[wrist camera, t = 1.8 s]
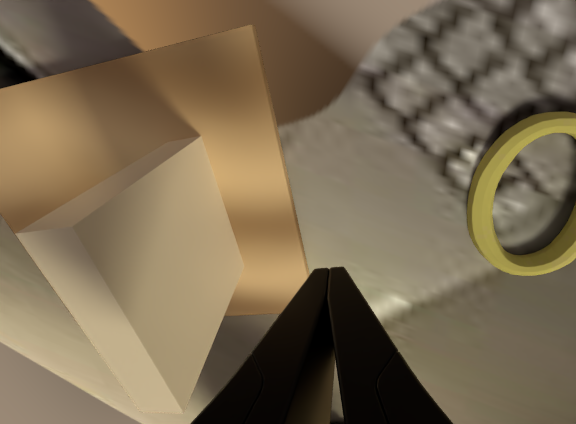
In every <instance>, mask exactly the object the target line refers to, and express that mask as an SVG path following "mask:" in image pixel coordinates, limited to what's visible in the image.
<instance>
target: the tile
mask: <svg viewBox="0 0 576 424" xmlns="http://www.w3.org/2000/svg"><path fill="white" fill-rule="evenodd" d="M15 235H16V236H17V237H18V239H19V240H20V242H21V243H22V244H23V246H24V247H25V249H26V250H27V252H28V253H29V254H30V256H31V257H32V259H33V260H34V262H35V263H36V264H37V266H38V267H39V269H40V270H41V272H42V273H43V274H44V276H45V277H46V279H47V280H48V282H49V283H50V284H51V286H52V287H53V289H54V290H55V291H56V293H57V294H58V296H59V297H60V299H61V300H62V301H63V303H64V304H65V306H66V307H67V309H68V310H69V311H70V313H71V314H72V316H73V317H74V319H75V320H76V321H77V323H78V324H79V326H80V327H81V329H82V330H83V331H84V333H85V334H86V336H87V337H88V338H89V340H90V341H91V343H92V344H93V346H94V347H95V348H96V350H97V351H98V353H99V354H100V356H101V357H102V358H103V360H104V361H105V363H106V364H107V366H108V367H109V368H110V370H111V371H112V373H113V374H114V376H115V377H116V378H117V380H118V381H119V383H120V384H121V385H122V387H123V388H124V390H125V391H126V393H127V394H128V395H129V397H130V398H131V400H132V401H133V403H134V404H135V405H136V407H137V408H138V410H139V411H140V412H147V413H184V412H185V410H186V407H187V405H188V402H189V400H190V398H191V395H192V393H193V390H194V388H195V385H196V383H197V380H198V378H199V376H200V373H201V371H202V368H203V366H204V363H205V361H206V359H207V356H208V354H209V351H210V349H211V346H212V344H213V341H214V339H215V337H216V334H217V332H218V329H219V327H220V324H221V322H222V320H223V317H224V315H225V312H226V310H227V307H228V305H229V302H230V300H231V298H232V295H233V293H234V290H235V288H236V285H237V283H238V281H239V278H240V276H241V273H242V271H243V268H244V263H243V260H242V257H241V254H240V251H239V248H238V245H237V242H236V239H235V236H234V233H233V230H232V227H231V224H230V221H229V218H228V215H227V212H226V209H225V206H224V203H223V200H222V197H221V194H220V191H219V188H218V185H217V182H216V179H215V176H214V173H213V170H212V167H211V164H210V161H209V158H208V155H207V152H206V149H205V146H204V143H203V140H202V137H201V136H198V137H193V138H187V139H182V140H176V141H171V142H167V143H166V144H164V145H162V146H161V147H159V148H157V149H156V150H154V151H152V152H151V153H149V154H147V155H145V156H144V157H142V158H140V159H139V160H137V161H135V162H134V163H132V164H130V165H129V166H127V167H125V168H124V169H122V170H120V171H119V172H117V173H115V174H114V175H112V176H110V177H109V178H107V179H105V180H104V181H102V182H100V183H99V184H97V185H95V186H94V187H92V188H90V189H89V190H87V191H85V192H84V193H82V194H80V195H79V196H77V197H75V198H74V199H72V200H70V201H69V202H67V203H65V204H64V205H62V206H60V207H59V208H57V209H55V210H54V211H52V212H50V213H49V214H47V215H45V216H44V217H42V218H40V219H39V220H37V221H35V222H34V223H32V224H30V225H29V226H27V227H25V228H24V229H22V230H20V231H19V232H17V233H15Z"/></svg>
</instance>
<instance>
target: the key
mask: <svg viewBox="0 0 576 424" xmlns="http://www.w3.org/2000/svg"><path fill="white" fill-rule="evenodd" d="M551 133H567V134H569V135H571V136H573V137H574V138H575V139H576V113H571V112H546V113H541V114H536V115H532V116H530V117H528V118H526V119H524V120H521V121H519V122H518V123H516V124H515V125H513V126H512V127H511V128H509V129H508V130H506V131H505V132H504V133H503V134H502V135H501V136H500V137H499V138H498V139H497V140H496V141H495V142H494V143H493V145H492V146H491V147H490V148H489V150H488V151H487V152H486V154H485V155H484V157H483V158H482V160H481V162H480V163H479V165H478V167H477V169H476V171H475V174H474V176H473V179H472V183H471V187H470V191H469V196H468V203H467V223H468V230H469V234H470V237H471V239H472V241H473V243H474V245H475V247H476V248H477V249H478V251H479V252H480V254H481V255H483V256H484V257H485V258H486V259H487V260H488V261H489V262H490V263H491V264H492V265H494V266H495V267H497V268H499V269H500V270H502V271H504V272H507V273H510V274H513V275H523V276H528V275H540V274H545V273H549V272H552V271H555V270H557V269H560V268H562V267H563V266H565V265H567V264H569V263H571V262H572V261H573V260H574V259H575V258H576V203H575V206H574V209H573V211H572V213H571V215H570V217H569V220H568V222H567V223H566V225H565V226H564V228H563V229H562V231H561V232H560V233H559V234H558V236H557V237H556V238H555V239H554V240H553V241H552V242H551V243H550V244H549V245H548V246H546V247H545V248H543V249H542V250H539V251H537V252H535V253H531V254H527V255H513V254H510V253H508V252H506V251H505V250H504V249H503V248H502V246H501V245H500V243H499V240H498V238H497V236H496V233H495V231H494V226H493V217H492V209H493V200H494V195H495V190H496V188H497V185H498V182H499V180H500V178H501V176H502V174H503V173H504V171H505V170H506V168H507V167H508V165H509V164H510V162H511V161H512V160H513V159H514V157H515V156H516V155H517V154H518V153H519V152H520V151H521V150H522V149H523V148H524V147H525V146H526V145H527V144H529V143H530V142H532V141H533V140H535V139H537V138H539V137H541V136H544V135H547V134H551Z"/></svg>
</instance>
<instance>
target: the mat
mask: <svg viewBox="0 0 576 424" xmlns="http://www.w3.org/2000/svg"><path fill="white" fill-rule="evenodd" d="M198 136H201V137H202V140H203V143H204V146H205V149H206V152H207V155H208V158H209V161H210V164H211V167H212V170H213V173H214V176H215V179H216V182H217V185H218V188H219V191H220V194H221V197H222V200H223V203H224V206H225V209H226V212H227V215H228V218H229V221H230V224H231V227H232V230H233V233H234V236H235V239H236V242H237V245H238V248H239V251H240V254H241V257H242V260H243V263H244V268H243V271H242V273H241V276H240V278H239V281H238V283H237V285H236V288H235V290H234V293H233V295H232V298H231V300H230V302H229V305H228V307H227V310H226V312H225V315H224V316H236V315H258V314H279V313H282V311H283V310H284V309H285V307H286V306H287V305H288V303H289V302H290V301H291V299H292V298H293V297H294V295H295V294H296V293H297V291H298V290H299V289H300V287H301V286H302V285H303V283H304V282H305V281H306V280H307V278H308V277H309V276H310V275H309V270H308V266H307V261H306V256H305V252H304V247H303V243H302V238H301V233H300V229H299V224H298V220H297V215H296V211H295V206H294V201H293V197H292V192H291V188H290V183H289V178H288V174H287V169H286V165H285V160H284V156H283V151H282V146H281V142H280V137H279V133H278V128H277V123H276V119H275V114H274V110H273V105H272V101H271V96H270V92H269V88H268V82H267V78H266V73H265V68H264V64H263V59H262V55H261V50H260V45H259V41H258V36H257V32H256V27H255V25H252V24H251V25H247V26H243V27H239V28H235V29H231V30H227V31H224V32H220V33H216V34H212V35H208V36H204V37H201V38H196V39H192V40H189V41H185V42H181V43H177V44H174V45H169V46H165V47H162V48H158V49H154V50H150V51H146V52H142V53H138V54H134V55H130V56H126V57H122V58H119V59H115V60H111V61H107V62H103V63H99V64H95V65H91V66H87V67H84V68H80V69H76V70H72V71H68V72H64V73H60V74H56V75H52V76H49V77H45V78H41V79H37V80H33V81H29V82H25V83H21V84H17V85H14V86H10V87H6V88H2V89H0V214H1V215H2V217H3V218H4V219H5V221H6V222H7V224H8V225H9V227H10V228H11V229H12V231H13V232H14V234H15V233H17V232H19V231H20V230H22V229H24V228H25V227H27V226H29V225H30V224H32V223H34V222H35V221H37V220H39V219H40V218H42V217H44V216H45V215H47V214H49V213H50V212H52V211H54V210H55V209H57V208H59V207H60V206H62V205H64V204H65V203H67V202H69V201H70V200H72V199H74V198H75V197H77V196H79V195H80V194H82V193H84V192H85V191H87V190H89V189H90V188H92V187H94V186H95V185H97V184H99V183H100V182H102V181H104V180H105V179H107V178H109V177H110V176H112V175H114V174H115V173H117V172H119V171H120V170H122V169H124V168H125V167H127V166H129V165H130V164H132V163H134V162H135V161H137V160H139V159H140V158H142V157H144V156H145V155H147V154H149V153H151V152H152V151H154V150H156V149H157V148H159V147H161V146H162V145H164V144H166V143H167V142H171V141H176V140H182V139H187V138H193V137H198ZM16 237H17V236H16ZM17 238H18V237H17ZM19 241H20V240H19ZM21 244H22V243H21ZM22 245H23V244H22ZM24 248H25V247H24ZM26 251H27V250H26ZM28 254H29V253H28ZM29 255H30V254H29ZM31 258H32V257H31ZM33 261H34V260H33ZM35 264H36V263H35ZM36 265H37V264H36ZM38 268H39V267H38ZM40 271H41V270H40ZM43 275H44V274H43ZM45 278H46V277H45ZM47 281H48V280H47ZM50 285H51V284H50ZM52 288H53V287H52ZM54 291H55V290H54ZM55 292H56V291H55ZM57 295H58V294H57ZM59 298H60V297H59ZM61 301H62V300H61ZM62 302H63V301H62ZM64 305H65V304H64ZM66 308H67V307H66ZM69 312H70V311H69ZM71 315H72V314H71ZM73 318H74V317H73ZM76 322H77V321H76Z"/></svg>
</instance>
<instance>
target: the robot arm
mask: <svg viewBox="0 0 576 424" xmlns="http://www.w3.org/2000/svg"><path fill="white" fill-rule="evenodd" d="M335 360H336V367H337V374H338V381H339V388H340V395H341V402H342V409H343V416H344V423H345V424H453V423H452V422H451V420H450V419H449V418H448V417H447V416H446V414H445V413H444V412H443V411H442V410H441V408H440V407H439V406H438V405H437V403H436V402H435V401H434V400H433V398H432V397H431V396H430V395H429V393H428V392H427V391H426V390H425V388H424V387H423V386H422V384H421V383H420V382H419V380H418V379H417V377H416V376H415V374H414V373H413V372H412V370H411V369H410V367H409V366H408V364H407V363H406V361H405V360H404V358H403V357H402V355H401V354H400V352H398V349H397V348H396V346H395V345H394V343H393V342H392V340H391V338H390V337H389V335H388V334H387V332H386V331H385V329H384V328H383V326H382V325H381V323H380V321H379V320H378V318H377V317H376V315H375V314H374V312H373V311H372V309H371V308H370V306H369V305H368V303H367V301H366V300H365V298H364V297H363V295H362V294H361V292H360V291H359V289H358V288H357V286H356V284H355V283H354V281H353V280H352V278H351V277H350V275H349V274H348V272H347V271H346V269H345V268H344V267H332V268H330V269H328V268H318V269H314V270H313V272H312V273H311V274H310V276H309V277H308V278H307V280H306V281H305V282H304V283H303V285H302V286H301V287H300V289H299V290H298V291H297V293H296V294H295V295H294V297H293V298H292V299H291V301H290V302H289V303H288V305H287V306H286V307H285V309H284V310H283V311H282V313H281V314H280V315H279V317H278V318H277V319H276V320H275V322H274V323H273V324H272V326H271V327H270V328H269V330H268V331H267V332H266V334H265V335H264V336H263V338H262V339H261V340H260V342H259V343H258V344H257V346H256V347H255V348H254V350H253V351H252V355H251V354H250V355H249V356H248V357H247V359H246V360H245V361H244V363H243V364H242V365H241V366H240V368H239V369H238V370H237V371H236V373H235V374H234V375H233V376H232V378H231V379H230V380H229V381H228V383H227V384H226V385H225V386H224V387H223V388H222V390H221V391H220V392H219V393H218V394H217V395H216V396H215V397H214V399H213V400H212V401H211V402H210V403H209V404H208V405H207V406H206V407H205V408H204V410H203V411H202V412H201V413H200V414H199V415H198V416H197V417H196V418H195V419H194V420H193V421H192V423H191V424H330V416H331V404H332V391H333V379H334V367H335Z"/></svg>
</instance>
